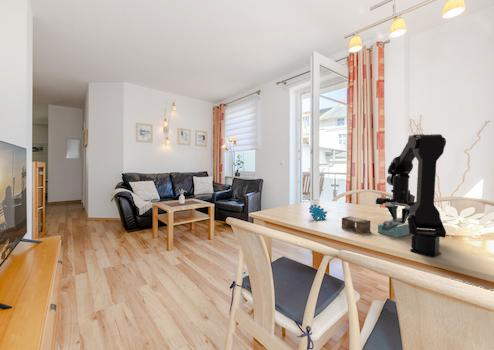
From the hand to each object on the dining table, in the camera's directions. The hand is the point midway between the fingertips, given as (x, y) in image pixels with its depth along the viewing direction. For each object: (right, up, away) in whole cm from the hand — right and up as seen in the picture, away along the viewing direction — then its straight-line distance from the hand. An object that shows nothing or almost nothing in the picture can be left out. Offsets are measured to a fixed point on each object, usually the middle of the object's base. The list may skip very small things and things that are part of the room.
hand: (399, 222), depth 99 cm
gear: (-29, -3, +24) cm, 37 cm away
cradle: (-3, -4, -2) cm, 5 cm away
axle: (-4, -1, -2) cm, 4 cm away
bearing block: (-18, -4, +4) cm, 18 cm away
